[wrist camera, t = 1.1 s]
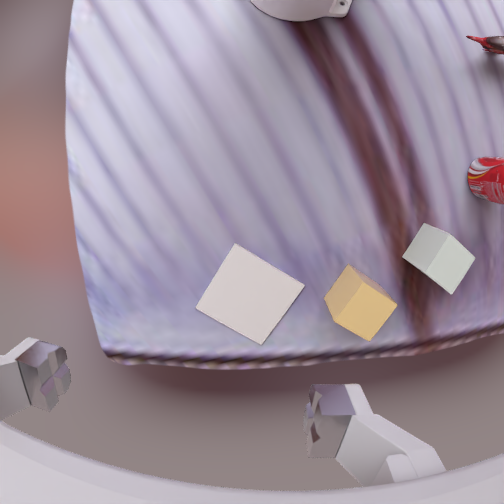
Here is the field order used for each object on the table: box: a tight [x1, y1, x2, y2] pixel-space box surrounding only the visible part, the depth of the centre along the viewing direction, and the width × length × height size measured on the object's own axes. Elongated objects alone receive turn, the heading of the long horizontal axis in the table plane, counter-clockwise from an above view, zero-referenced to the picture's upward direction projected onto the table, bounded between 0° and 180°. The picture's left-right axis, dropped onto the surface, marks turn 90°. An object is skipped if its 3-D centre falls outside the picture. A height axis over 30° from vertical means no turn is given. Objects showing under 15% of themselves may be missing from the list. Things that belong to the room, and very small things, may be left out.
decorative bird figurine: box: [466, 36, 504, 54], centre depth 31 cm, size 3×18×10 cm, turn 103°
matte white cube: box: [402, 223, 475, 295], centre depth 42 cm, size 6×6×8 cm
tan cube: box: [324, 264, 397, 341], centre depth 44 cm, size 6×6×8 cm
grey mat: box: [195, 243, 305, 345], centre depth 48 cm, size 12×12×1 cm
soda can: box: [468, 157, 504, 204], centre depth 36 cm, size 7×7×12 cm
